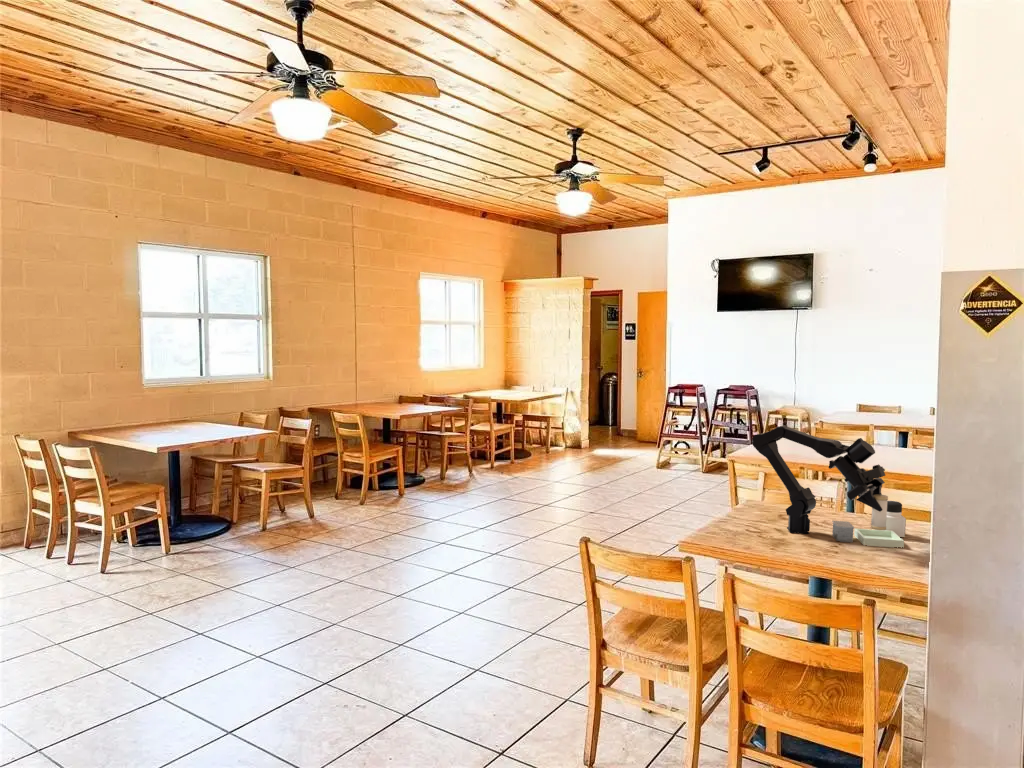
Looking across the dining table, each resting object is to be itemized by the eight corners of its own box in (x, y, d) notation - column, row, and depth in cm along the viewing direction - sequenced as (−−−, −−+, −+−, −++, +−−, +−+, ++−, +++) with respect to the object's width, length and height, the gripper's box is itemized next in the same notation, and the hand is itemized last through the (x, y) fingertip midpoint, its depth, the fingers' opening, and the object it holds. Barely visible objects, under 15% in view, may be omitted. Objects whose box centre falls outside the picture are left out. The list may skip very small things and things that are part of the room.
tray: (863, 545, 241) (864, 538, 241) (854, 535, 253) (854, 528, 253) (903, 548, 239) (904, 540, 239) (892, 537, 251) (892, 530, 251)
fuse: (873, 530, 235) (875, 497, 235) (868, 526, 240) (870, 494, 239) (888, 530, 235) (890, 497, 234) (882, 526, 240) (884, 494, 239)
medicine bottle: (905, 538, 251) (906, 504, 250) (883, 536, 252) (884, 503, 251) (898, 532, 258) (900, 499, 257) (877, 531, 259) (878, 498, 258)
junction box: (836, 541, 245) (837, 526, 245) (830, 534, 254) (831, 519, 254) (853, 542, 244) (854, 527, 244) (846, 535, 253) (847, 520, 253)
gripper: (858, 460, 232) (893, 500, 225) (879, 454, 245) (913, 491, 238) (833, 480, 238) (866, 519, 231) (854, 473, 251) (886, 510, 244)
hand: (883, 509), depth 236 cm, fingers closed on fuse, 4 cm apart
